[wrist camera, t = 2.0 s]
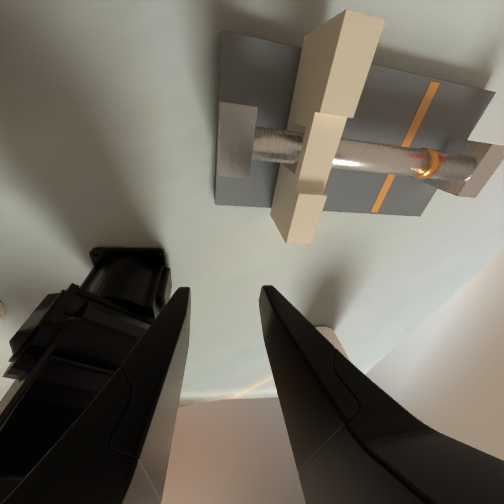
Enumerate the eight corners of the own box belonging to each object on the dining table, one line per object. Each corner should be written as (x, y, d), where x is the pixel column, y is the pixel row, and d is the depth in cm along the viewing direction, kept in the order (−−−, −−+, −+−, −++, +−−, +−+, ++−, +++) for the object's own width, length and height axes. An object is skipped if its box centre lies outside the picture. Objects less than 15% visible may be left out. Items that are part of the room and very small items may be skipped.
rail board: (214, 200, 20) (215, 204, 19) (221, 34, 14) (222, 30, 13) (413, 212, 25) (420, 216, 24) (483, 92, 18) (496, 92, 18)
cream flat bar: (270, 214, 20) (286, 243, 16) (304, 35, 13) (346, 9, 9) (290, 215, 21) (311, 244, 16) (333, 42, 14) (385, 20, 10)
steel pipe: (216, 162, 17) (218, 176, 14) (219, 101, 15) (222, 101, 12) (439, 184, 22) (476, 198, 19) (466, 140, 20) (513, 147, 17)
